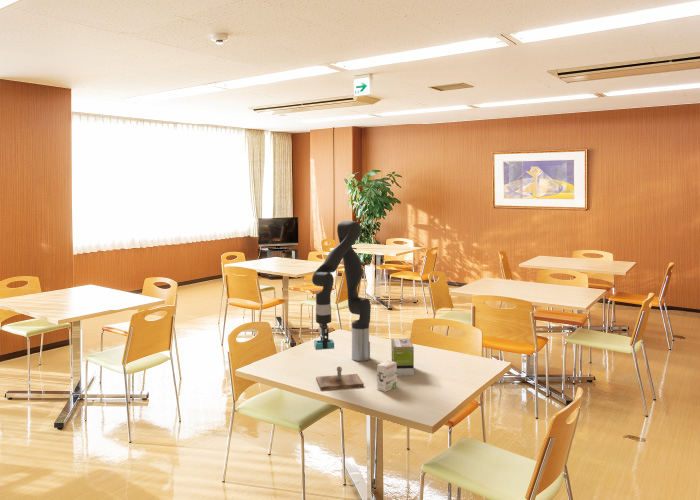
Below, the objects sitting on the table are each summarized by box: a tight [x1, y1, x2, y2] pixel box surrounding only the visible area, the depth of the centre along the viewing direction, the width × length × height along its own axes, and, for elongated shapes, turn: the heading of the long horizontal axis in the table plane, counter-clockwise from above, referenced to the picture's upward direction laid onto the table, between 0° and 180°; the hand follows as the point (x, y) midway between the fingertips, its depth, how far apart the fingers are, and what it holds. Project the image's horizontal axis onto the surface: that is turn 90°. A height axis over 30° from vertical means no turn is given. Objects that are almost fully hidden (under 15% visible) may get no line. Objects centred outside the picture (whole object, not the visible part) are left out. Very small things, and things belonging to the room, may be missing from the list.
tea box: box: [390, 338, 415, 377], centre depth 272 cm, size 15×10×15 cm
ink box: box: [376, 360, 398, 392], centre depth 248 cm, size 9×5×12 cm, turn 137°
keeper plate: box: [315, 366, 365, 391], centre depth 254 cm, size 20×14×8 cm
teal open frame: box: [313, 338, 335, 351], centre depth 266 cm, size 9×6×3 cm, turn 102°
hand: (324, 346), depth 266 cm, fingers closed on teal open frame, 6 cm apart
